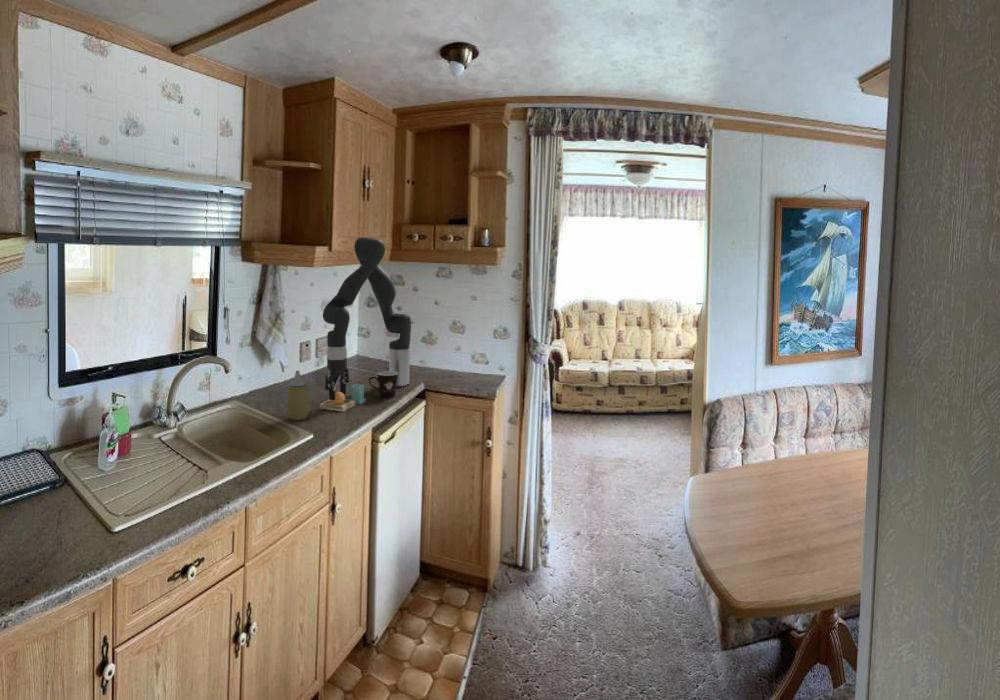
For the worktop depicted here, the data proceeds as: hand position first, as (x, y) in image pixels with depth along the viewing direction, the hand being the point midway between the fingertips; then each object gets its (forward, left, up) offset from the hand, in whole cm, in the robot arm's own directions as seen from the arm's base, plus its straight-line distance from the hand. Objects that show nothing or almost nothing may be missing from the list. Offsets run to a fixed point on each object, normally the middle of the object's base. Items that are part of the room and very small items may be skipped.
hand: (337, 396), depth 227 cm
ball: (0, 0, -1) cm, 1 cm away
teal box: (-9, +4, -4) cm, 10 cm away
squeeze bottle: (+18, -6, -4) cm, 20 cm away
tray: (0, 0, -4) cm, 4 cm away
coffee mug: (-22, +10, -4) cm, 24 cm away
